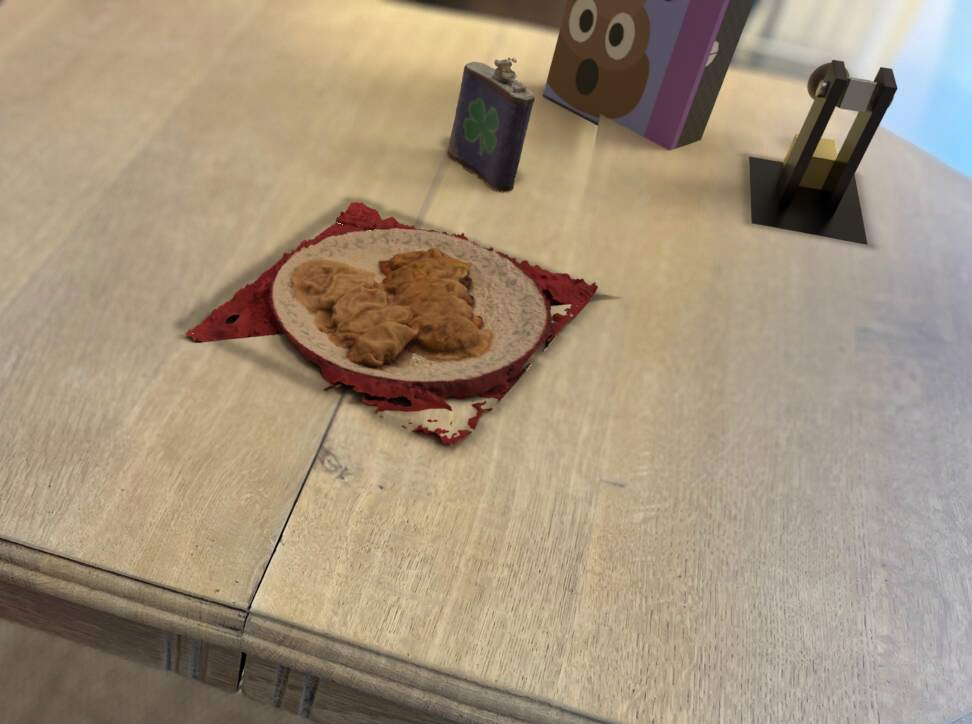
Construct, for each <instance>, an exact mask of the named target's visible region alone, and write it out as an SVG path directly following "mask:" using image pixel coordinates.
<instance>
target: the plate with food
mask: <svg viewBox="0 0 972 724" xmlns="http://www.w3.org/2000/svg"><path fill="white" fill-rule="evenodd" d="M337 222H338V223H341V224H338V223H337ZM342 224H343V225H342ZM369 230H371V231H369ZM598 288H599V285H597V283H596V281H594V282H592V283H591V284H588V283H587V282H586V281H585V279H584V278H581V279H580V278H572V277H571V274H569V273H567V272H566V273H565V272H563V273H561V272H554V273H553V272H551V271H550V270H548V269H543V268H542V267H541V266H539V265H538V264H535V265H534V266H533V265H531V264H530V263H529V261H528V260H522V261H521V262H519V261H518V260H517V258H516V257H511V256H509V254H505V253H504V252H502V251H501V252H500V251H496V250H495V249H494V247H492V246H490V247H489V248H488V247H481V245H480V244H478V243H476V242H475V241H473V242H471V241H470V240H469V237H467V236H465V233H464V232H462V233H461V234H460V233H459V234H456V233H452V234H449V233H448V232H447V231H442V232H440V231H438V230H435V229H432V228H431V229H429V230H428V229H424V228H416V226H415V225H411V226H410V225H407V224H404V223H400V222H399V221H398V220H397V219H396V218H395V217H394V216H389V217H387V218H384V219H382V217H381V215H380V213H379V211H378V210H377V209H375V208H372V207H369V206H368V205H366V204H365V203H363V202H356V201H352V202H350V203H349V205H348V207H347V208H346V210H345V211H340V212H339V216H337V217H336V218H335V222H334V223H333V224H331V225H330V226H328V227H327V228H325V229H324V230H323V231H322V232H320V233H319V234H318V235H316V236H315V237H314V238H312V239H311V238H309V239H307V240H306V239H304V240H302V241H301V242H300V243H299V244H298V245H297V247H296V248H295V249H292V250H291V252H290V253H289V252H286V251H285V252H283V254H282V257H281V258H280V259H279V260H277V261H276V262H275V263H274V264H273V265H272V266H271V267H270V268H269V269H266V270H265V271H264V272H262V274H261V275H260V276H258V277H257V279H255V280H254V281H253V282H251V283H250V284H249V283H247V284H245V286H244V287H241V288H239V289H238V290H237V291H236V292H235V293H234V295H233V296H232V297H231V299H229V300H227V301H225V302H224V303H222V304H221V305H219V306H218V307H217V308H213V309H212V311H211V313H210V314H209V315H208V316H206V317H205V318H204V320H203V321H202V322H201V323H199V324H197V325H196V326H194V327H193V328H191V329H188V330H187V332H184V335H186V336H188V337H191V338H192V339H193V342H197V341H199V342H201V343H210V342H221V341H229V340H239V339H248V338H258V337H259V338H260V337H269V336H278V335H285V336H286V338H287V339H288V340H289V342H290V343H292V344H293V345H294V346H295V347H296V348H297V349H298V351H299V353H300V354H301V355H302V356H304V358H305V359H306V360H307V361H309V362H313V363H314V364H315V365H316V366H318V367H319V369H320V370H321V371H319V373H320V375H321V376H322V377H323V378H324V380H326V381H327V382H329V383H331V385H328V386H326V387H325V388H323V390H324V391H325V390H326V389H328V388H333V389H334V388H341V387H342V386H343V384H344V385H346V386H353V387H352V392H356V393H357V394H358V393H366V394H365V395H363V396H362V397H361V402H362V403H363V404H366V405H368V406H370V407H372V406H374V405H376V406H377V408H376V411H375V414H378V413H381V412H385V411H388V412H389V411H390V412H404V413H413V412H415V413H416V412H421V411H428V410H447V411H449V412H453V407H452V406H451V405H450V404H449V403H448V402H447V399H449V398H451V397H453V398H457V399H458V400H465V399H466V398H467V399H468V398H475V397H480V398H484V399H496V400H497V401H498V403H500V402H501V400H502V399H503V398H504V397H505V395H506V394H507V393H508V392H509V391H510V390H511V389H512V388H513V387H514V386H515V384H517V382H518V381H519V380H520V378H521V377H522V376H523V374H524V373H525V372H528V371H529V369H530V368H531V367H533V364H532V363H531V362H529V363H528V364H527V365H526V363H527V362H528V361H529V360H530V359H531V357H532V356H533V354H535V352H536V351H537V350H538V349H539V348H540V347H541V346H542V344H543V343H544V342H545V341H546V342H545V347H544V348H543V349H542V353H545V352H546V351H547V349H548V348H549V347H550V346H551V345H552V344H553V342H554V340H555V339H557V338H558V334H559V332H560V331H561V330H562V329H563V328H564V327H565V326H566V325H567V324H568V323H569V322H570V320H572V319H575V318H576V317H577V316H578V315H579V314H580V312H581V311H582V310H583V309H584V308H585V307H586V306H587V305H588V304H589V302H590V301H591V299H592V298H593V296H594V295H596V292H597V291H598ZM568 305H570V306H569V307H565V309H563V311H564V312H566V313H565V314H561V313H559V312H555V313H551V311H552V307H558V306H568ZM237 315H238V316H239V317H238V318H236V320H235V321H234V322H232V323H226V322H227V320H228V318H230V317H233V316H237ZM571 315H572V316H571ZM552 320H553V321H554V322H552ZM192 333H194V334H192ZM414 354H416V355H417V356H421V357H422V359H420V357H417V358H415V357H414ZM413 357H414V358H413ZM524 366H525V367H524ZM399 397H400V398H402V397H403V398H406V399H407V400H409V401H410V403H411V405H410V406H402V405H401V404H398V405H394V403H390V402H389V400H390V399H395V398H396V399H397V398H399ZM471 402H474V400H471ZM498 403H496V405H497V404H498ZM486 404H487V401H486V400H484V401H482V402H480V401H479V402H475V403H472V404H471V407H473V408H474V409H475V410H476V414H475V415H474V416H472V417H469V418H468V419H467V426H469V428H470V429H471V430H474V431H475V429H476V427H477V425H478V422H479V420H480V418H481V416H482V415H483V413H485V412H486V411H493V407H489V408H488V407H487V408H482V406H486ZM380 417H382V418H384V416H382V415H380ZM426 422H427V423H430V424H431V423H437V422H439V420H438V419H433V420H432V418H430V419H429V418H428V419H427V420H426ZM412 424H413V422H408V425H412ZM449 425H450V426H451V428H452V427H453V420H451V421H450V422H449ZM402 427H403V428H405V429H407V427H406V425H402ZM429 429H430V428H429V427H427V426H425V427H423V424H418V425H417V427H415V428H414V429H412V430H411V432H419V431H420V430H421V431H423V434H426V435H430V434H437V435H438V436H439V438H440V441H441V443H442V444H443V445H453V446H454V445H455V444H457V442H459V441H461V440H463V439H464V438H465V437H466V436H467V435H469V433H472V431H471V430H469V429H457V432H454V433H452V434H451V435H450V436H451V437H450V438H449V437H448V435H447V434H448V433H450V430H448V429H447V430H446V428H444V429H442V428H441V427H437V428H435V430H431V429H430V430H429ZM442 434H443V436H442ZM458 434H459V435H458Z"/></svg>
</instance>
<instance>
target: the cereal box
mask: <svg viewBox="0 0 972 724" xmlns="http://www.w3.org/2000/svg"><path fill="white" fill-rule="evenodd" d="M754 3H755V0H567V1H566V5H565V9H564V13H563V17H562V20H561V25H560V29H559V31H558V36H557V39H556V43H555V48H554V51H553V54H552V59H551V63H550V66H549V70H548V73H547V74H548V75H547V79H546V82H545V86H544V89H543V92H542V97H543V98H546V99H547V100H549V101H551V102H553V103H555V104H557V105H558V106H560V107H561V108H562V107H563V108H565V110H568V111H570V112H571V113H574V114H575V115H578V116H580V117H581V118H583V119H585V120H587V121H589V122H590V123H593V124H595V125H596V126H599V125H600V124H599V123H600V118H601V116H603V117H605V118H607V119H608V120H611V121H612V122H614V123H616V124H618V125H620V126H622V127H624V128H626V129H628V130H630V131H632V132H634V133H635V134H638V135H639V136H641V137H643V138H645V139H647V140H649V141H651V142H653V143H655V144H657V145H659V146H661V147H663V148H664V149H666V150H668V151H673V150H676V149H679V148H682V147H685V146H687V145H690V144H693V143H696V142H699V141H702V138H703V137H704V136H703V135H704V133H705V131H706V128H707V126H708V124H709V123H708V122H709V120H710V118H711V114H712V113H713V109H714V107H715V106H716V105H715V104H716V102H717V99H718V97H719V94H720V91H721V89H722V87H723V83H724V82H725V79H726V76H727V73H728V70H729V68H730V65H731V64H732V63H731V62H732V60H733V58H734V55H735V52H736V50H737V47H738V44H739V43H740V42H739V41H740V39H741V37H742V35H743V31H744V28H745V26H746V23H747V21H748V18H749V15H750V13H751V10H752V9H753V5H754Z"/></svg>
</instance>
